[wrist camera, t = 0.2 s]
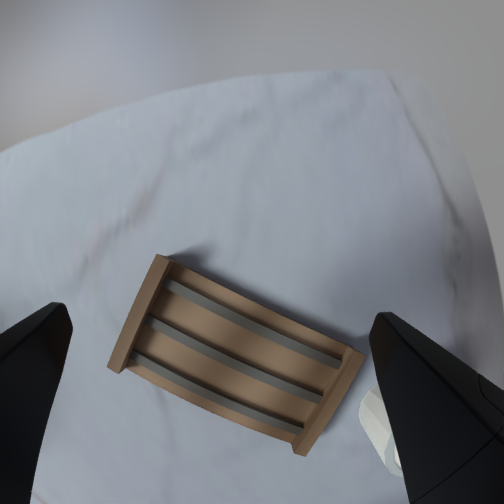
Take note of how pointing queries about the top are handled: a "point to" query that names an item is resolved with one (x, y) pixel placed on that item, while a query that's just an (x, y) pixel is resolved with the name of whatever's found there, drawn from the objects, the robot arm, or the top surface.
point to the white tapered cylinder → (379, 429)
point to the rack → (234, 355)
